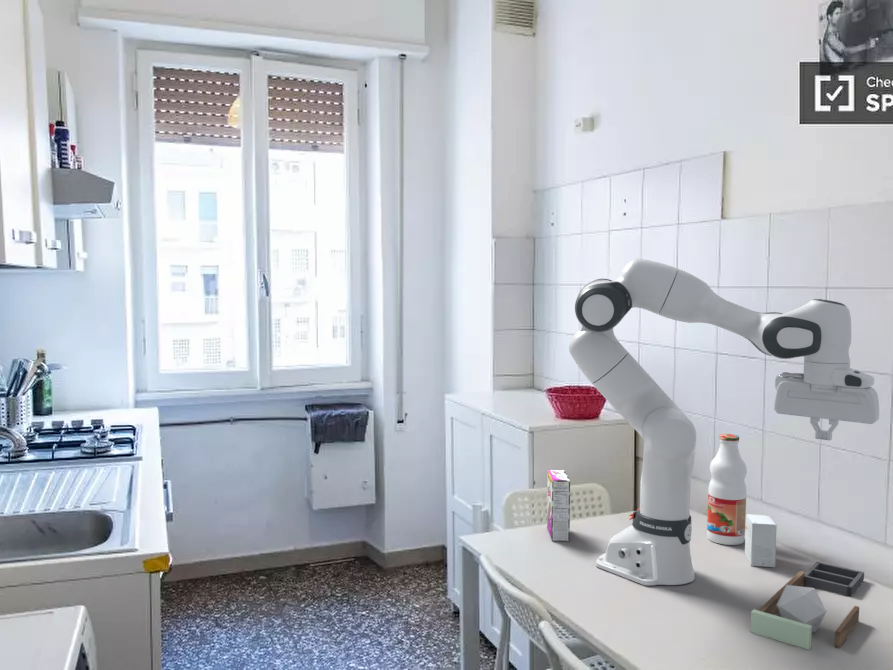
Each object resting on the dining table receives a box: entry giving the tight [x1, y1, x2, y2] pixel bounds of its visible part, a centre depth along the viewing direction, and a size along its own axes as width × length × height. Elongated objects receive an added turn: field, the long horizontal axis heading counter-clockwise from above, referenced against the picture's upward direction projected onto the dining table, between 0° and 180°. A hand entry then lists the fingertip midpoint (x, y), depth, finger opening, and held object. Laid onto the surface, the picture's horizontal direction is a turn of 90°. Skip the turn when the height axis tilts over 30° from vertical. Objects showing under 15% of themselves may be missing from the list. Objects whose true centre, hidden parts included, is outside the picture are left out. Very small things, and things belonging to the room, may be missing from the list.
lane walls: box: [757, 570, 860, 649], centre depth 152 cm, size 15×32×3 cm, turn 139°
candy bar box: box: [546, 469, 571, 542], centre depth 199 cm, size 11×5×16 cm, turn 179°
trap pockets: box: [804, 561, 865, 598], centre depth 169 cm, size 10×12×2 cm
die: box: [777, 585, 827, 633], centre depth 146 cm, size 8×9×10 cm
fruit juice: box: [706, 433, 747, 546], centre depth 197 cm, size 9×9×28 cm
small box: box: [744, 513, 777, 568], centre depth 182 cm, size 8×6×10 cm
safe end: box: [749, 609, 813, 650], centre depth 141 cm, size 10×2×4 cm, turn 49°
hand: (823, 439), depth 161 cm, fingers closed
